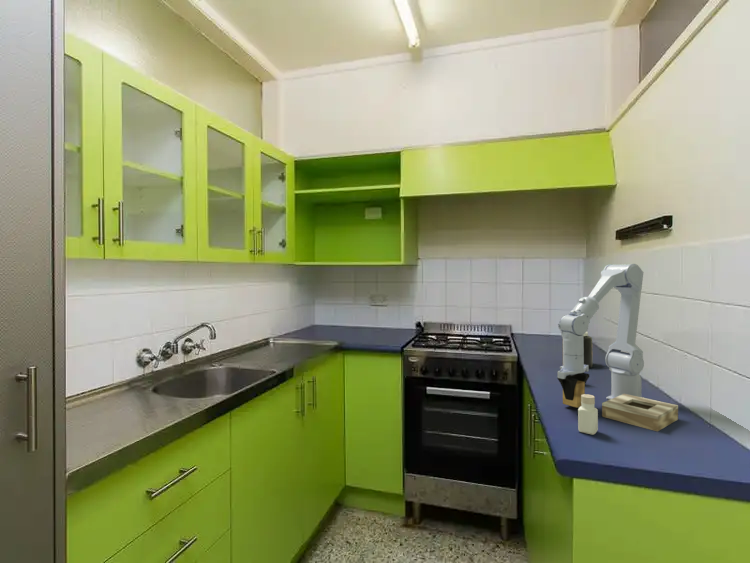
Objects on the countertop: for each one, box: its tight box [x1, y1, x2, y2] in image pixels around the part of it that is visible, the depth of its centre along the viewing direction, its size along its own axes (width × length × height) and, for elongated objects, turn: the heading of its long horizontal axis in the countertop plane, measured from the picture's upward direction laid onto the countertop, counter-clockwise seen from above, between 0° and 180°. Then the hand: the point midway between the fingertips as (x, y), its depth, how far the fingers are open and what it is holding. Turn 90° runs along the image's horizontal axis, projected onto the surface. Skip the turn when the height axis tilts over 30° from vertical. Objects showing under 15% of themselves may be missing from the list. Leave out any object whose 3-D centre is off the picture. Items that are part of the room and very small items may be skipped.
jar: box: [561, 331, 594, 369], centre depth 179 cm, size 12×12×15 cm
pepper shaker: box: [577, 393, 599, 435], centre depth 107 cm, size 4×4×10 cm
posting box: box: [601, 394, 679, 432], centre depth 116 cm, size 14×14×4 cm
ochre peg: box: [562, 381, 586, 408], centre depth 126 cm, size 4×4×7 cm
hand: (573, 397), depth 126 cm, fingers closed on ochre peg, 4 cm apart
